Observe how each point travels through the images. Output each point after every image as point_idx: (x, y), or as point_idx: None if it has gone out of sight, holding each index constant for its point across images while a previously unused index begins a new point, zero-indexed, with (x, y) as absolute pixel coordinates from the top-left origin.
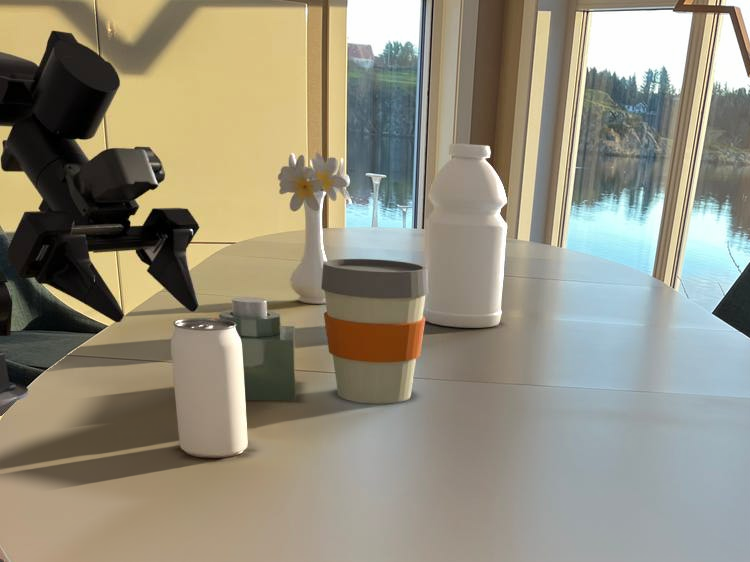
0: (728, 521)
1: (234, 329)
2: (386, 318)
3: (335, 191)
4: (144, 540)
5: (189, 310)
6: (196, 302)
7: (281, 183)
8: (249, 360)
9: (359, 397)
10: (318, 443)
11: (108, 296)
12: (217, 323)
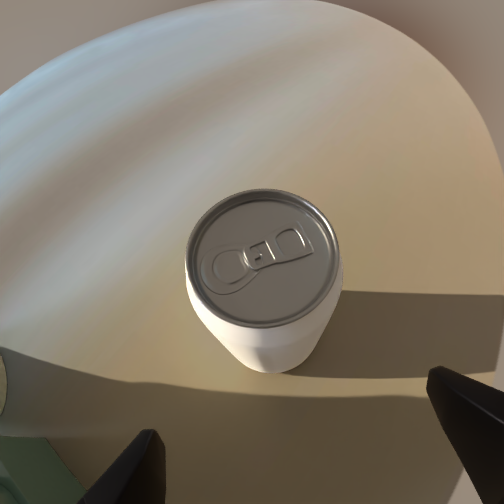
0: (129, 54)
1: (218, 210)
2: None
3: None
4: (437, 157)
5: (164, 454)
6: (145, 432)
7: None
8: (46, 492)
9: (2, 371)
10: (151, 274)
11: (478, 384)
12: (206, 280)
